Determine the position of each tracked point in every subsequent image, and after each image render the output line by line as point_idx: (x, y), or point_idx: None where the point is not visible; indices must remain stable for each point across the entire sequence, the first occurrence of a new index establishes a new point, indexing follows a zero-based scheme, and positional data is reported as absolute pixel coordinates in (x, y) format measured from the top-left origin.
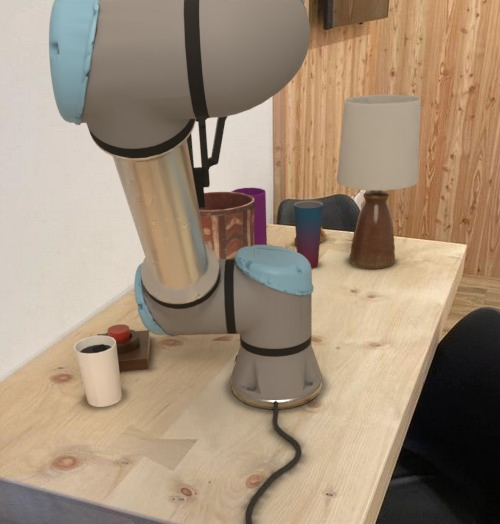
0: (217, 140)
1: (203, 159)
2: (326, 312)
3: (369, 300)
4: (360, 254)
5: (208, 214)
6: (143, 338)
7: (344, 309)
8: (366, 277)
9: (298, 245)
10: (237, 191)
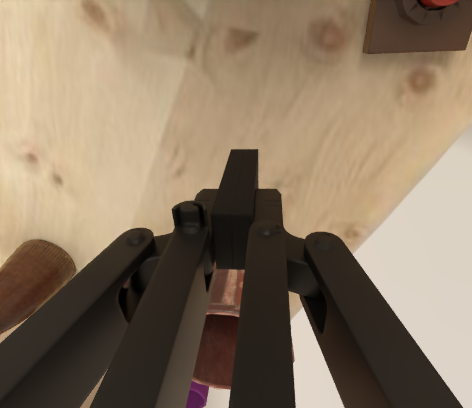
0: (52, 325)
1: (190, 248)
2: (86, 115)
3: (32, 146)
4: (48, 259)
5: (238, 307)
6: (384, 13)
7: (62, 121)
8: (47, 218)
9: (124, 285)
10: (197, 406)
